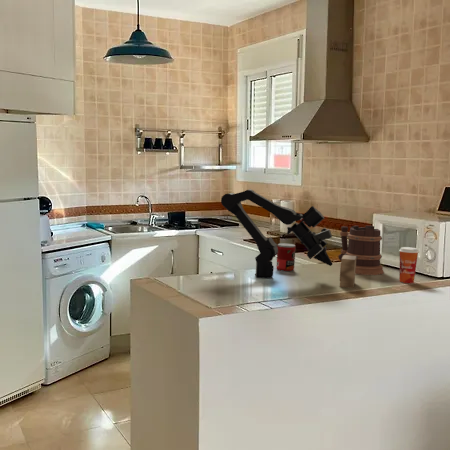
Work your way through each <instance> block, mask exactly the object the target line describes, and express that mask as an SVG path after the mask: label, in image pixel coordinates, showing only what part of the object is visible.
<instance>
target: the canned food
mask: <svg viewBox="0 0 450 450" xmlns="http://www.w3.org/2000/svg"><path fill="white" fill-rule="evenodd" d="M277 248H278V253H277V255H276V264H275V265H276V267H275V268H276V270H277V271H281V270H284V271H283V272H292V270H293V271H294V269H295V263H296V261H295V260H296V245H295V244H294V243H284V242H283V243H278V244H277Z"/></svg>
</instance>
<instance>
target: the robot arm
mask: <svg viewBox="0 0 450 450" xmlns="http://www.w3.org/2000/svg"><path fill="white" fill-rule="evenodd" d="M220 199H221V200H220V202H221V203H220V204H221V205H222V206H223V207H224V208H225V209H226V210H227V211H228V212H230V213H231V214H232V215H234V216H235V217H236V219H237V220H238V221H239V223H240V224H241V225H242V227H243V228H244V229H245V230H246V232H247V233H248V234H249V236H250V237H251V238H252V240H253V241H254V242H255V243H256V246H257V249H258V252H259V253H258V255H256V257H255V258H254V259H255V273H254V276H255V278H257V279H258V278H260V279H261V278H262V279H273V276H274V265H273V262H272V261H273V259H274V258H275V257H277V253H278V248H277V246H278V244H277V243H276V242H275V241H274V239H273V238H272V237H269V238H268V237H266V236H265V235H264V234H263V232H262V231H261V230H260V229H259V227H258V226H257V224H255V222H254V221H253V220H252V218H251V217H250V216H249V214H248V213H247V212H246V210H245V209H244V207H243V204H242V202H244V201H247V200H248V201H250V202H251V203H254V204H255V205H257V206H259V207H260V208H262V209H263V210H265V211H267V212H269V213H271V214H272V215H273V216H274V217H275V218H276V219H278V220H279V221H280V222H281V223H282V224H284V225H286V226H287V228H286V229H287V231H286V232H287V235H289V234H291V233H293V234H294V236H296V237H297V239H298V240H299V241H300V244H301V245H303V246H304V247H305V248H306V249H307V253H306V256H307V257H308V258H309V260H311V259H312V258H313V259H315V260H317V261H319V262H321V263H323V264H326V265H328V266H329V267H331V266H333V262H332V260H331V258H330V256H329V254H328V253H327V245H328V242H327V241H326V240H327V239H330V238H333V235H332V231H331V229H329V228H328V229H327V228H326V227H323V228H322V229H320V230H321V231H320V232H319V233H316V232H315V231H314V232H313V231H312V230H311V229H310V228H311V227H312V228H315V227H316V226H317V225H319V223H321V222H322V221H323V220H325V216H324V214H323V213H322V212H321V211H320V210H318V209H317V208H316V207H315V206H314V205H312V206H310V207H309V208H308V209H307V210H306V212H304V213H298V212H296V211H295V210H294V209H291V208H289V207H285V206H284V205H283V206H282V205H280V204H277V203H275V202H274V201H272V200H270V199H268V198H267V197H264V196H263V195H261V194H259V193H258V192H256V191H255V190H253V189H251V188H250V189H245V190H244V191H239V192H237V193H234V192H230V193H228V192H227V193H224V194H223V195H222V196H221V198H220ZM298 221H300V222H298ZM288 225H289V226H288ZM290 225H291V226H290Z"/></svg>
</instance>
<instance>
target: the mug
mask: <svg viewBox="0 0 450 450" xmlns="http://www.w3.org/2000/svg"><path fill="white" fill-rule="evenodd" d="M340 228H341V231H340V232H339V235H340V239H341V246H342V247H341V248H342V249H340V254H339V255H338V256H337V257H338V260H340V261H341V259H342V257H343V255H350V256H356V271H355V275H363V276H365V275H366V276H367V275H368V276H375V275H376V276H377V275H382V274H384V273H385V272H384V269H383V268H384V267H383V265H382V264H381V259H382V257H383V255H382V254H381V241H382V240H383V237H382V235H381V230H380V229H378V228H375V226H374V225H365V227H364V226H363V227H362V226H361V227H359V225H352V226H351V227H348V226H342V225H341V227H340ZM349 228H350V230H349ZM348 230H349V231H348Z"/></svg>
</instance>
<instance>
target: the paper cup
mask: <svg viewBox="0 0 450 450" xmlns="http://www.w3.org/2000/svg"><path fill="white" fill-rule="evenodd" d="M398 251H399V283H402V282H403V284H414V283H415V276H416V269H417V264H418V263H417V262H418V256H419V253H420V251H419V249H418V248H417V247H411V246H410V247H409V246H401V247H400V248H399V250H398Z"/></svg>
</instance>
